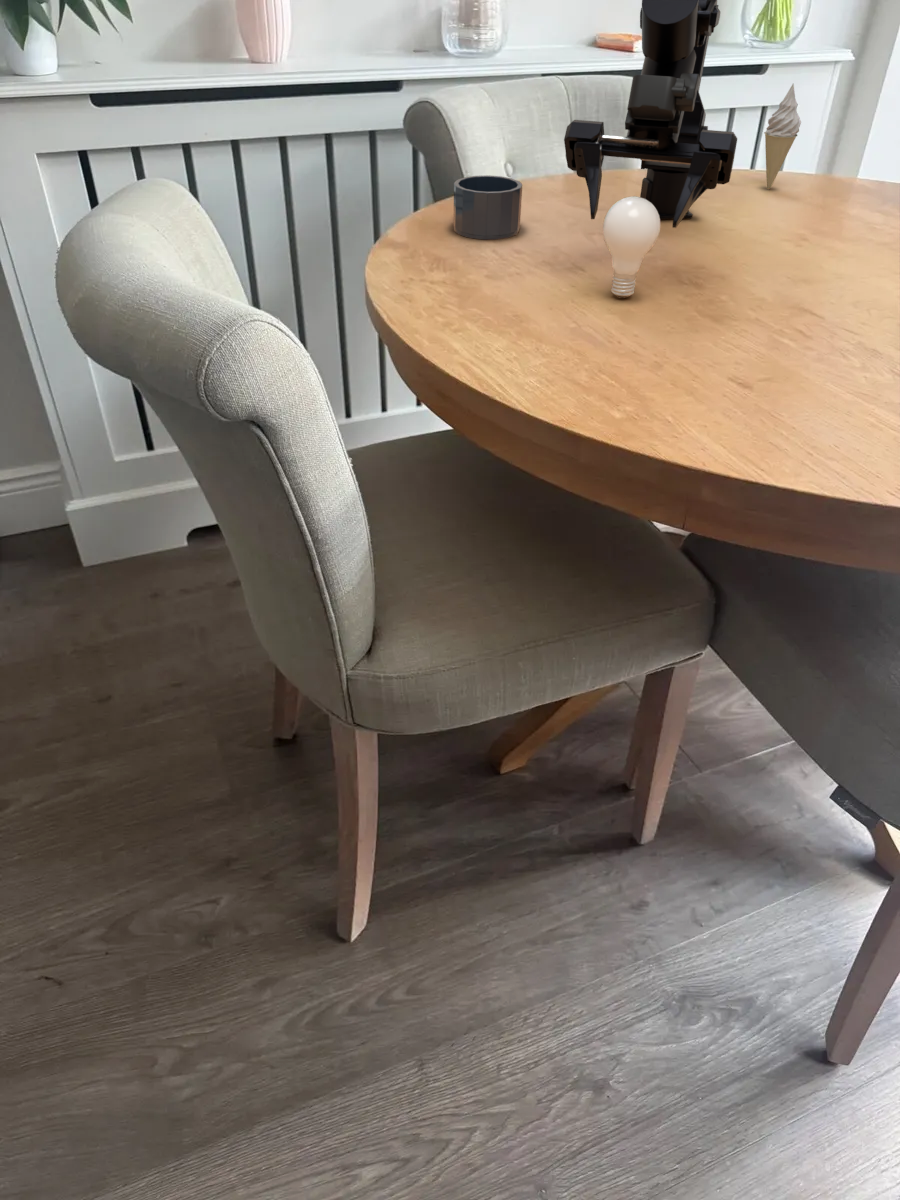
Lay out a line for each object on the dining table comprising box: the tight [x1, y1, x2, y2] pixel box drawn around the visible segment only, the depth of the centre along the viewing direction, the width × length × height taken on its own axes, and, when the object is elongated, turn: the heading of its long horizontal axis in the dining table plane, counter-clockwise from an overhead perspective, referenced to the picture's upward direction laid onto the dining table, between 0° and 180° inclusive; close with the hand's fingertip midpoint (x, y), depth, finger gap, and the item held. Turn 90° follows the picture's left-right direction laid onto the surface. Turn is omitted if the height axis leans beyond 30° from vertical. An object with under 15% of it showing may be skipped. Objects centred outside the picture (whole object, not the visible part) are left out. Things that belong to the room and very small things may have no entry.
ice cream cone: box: [763, 83, 802, 190], centre depth 137 cm, size 5×5×15 cm
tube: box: [452, 174, 523, 241], centre depth 121 cm, size 9×9×6 cm
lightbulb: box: [602, 195, 661, 299], centre depth 99 cm, size 6×6×11 cm
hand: (632, 221), depth 98 cm, fingers open, 9 cm apart
